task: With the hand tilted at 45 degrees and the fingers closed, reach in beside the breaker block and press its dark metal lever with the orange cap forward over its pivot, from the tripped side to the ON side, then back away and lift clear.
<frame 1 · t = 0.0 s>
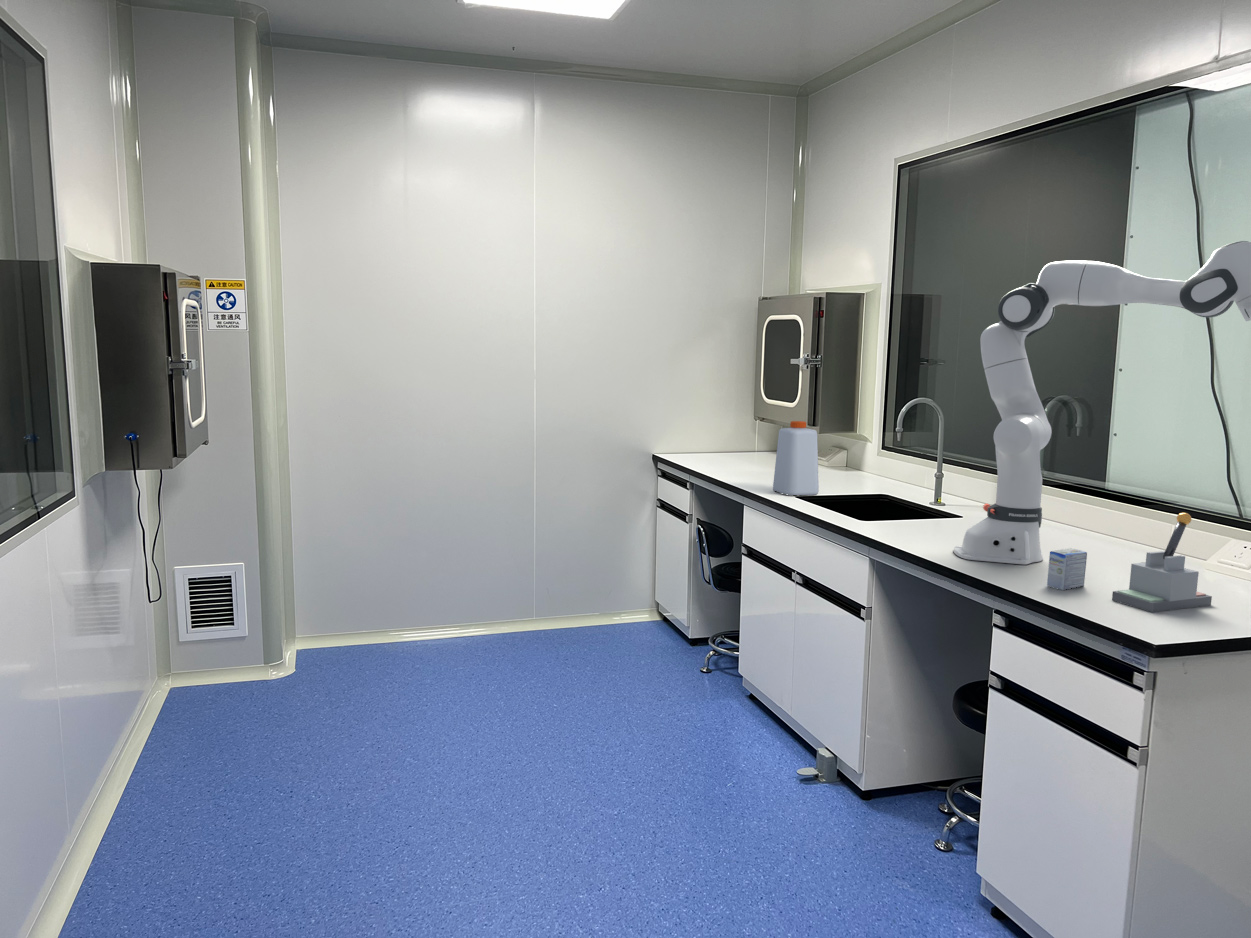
medicine box: (1065, 587, 210), on the counter
breaker block: (1161, 602, 197), on the counter
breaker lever: (1180, 527, 196), point 17 cm above the counter, hinge at -25.0°
plastic bottle: (795, 493, 343), on the counter
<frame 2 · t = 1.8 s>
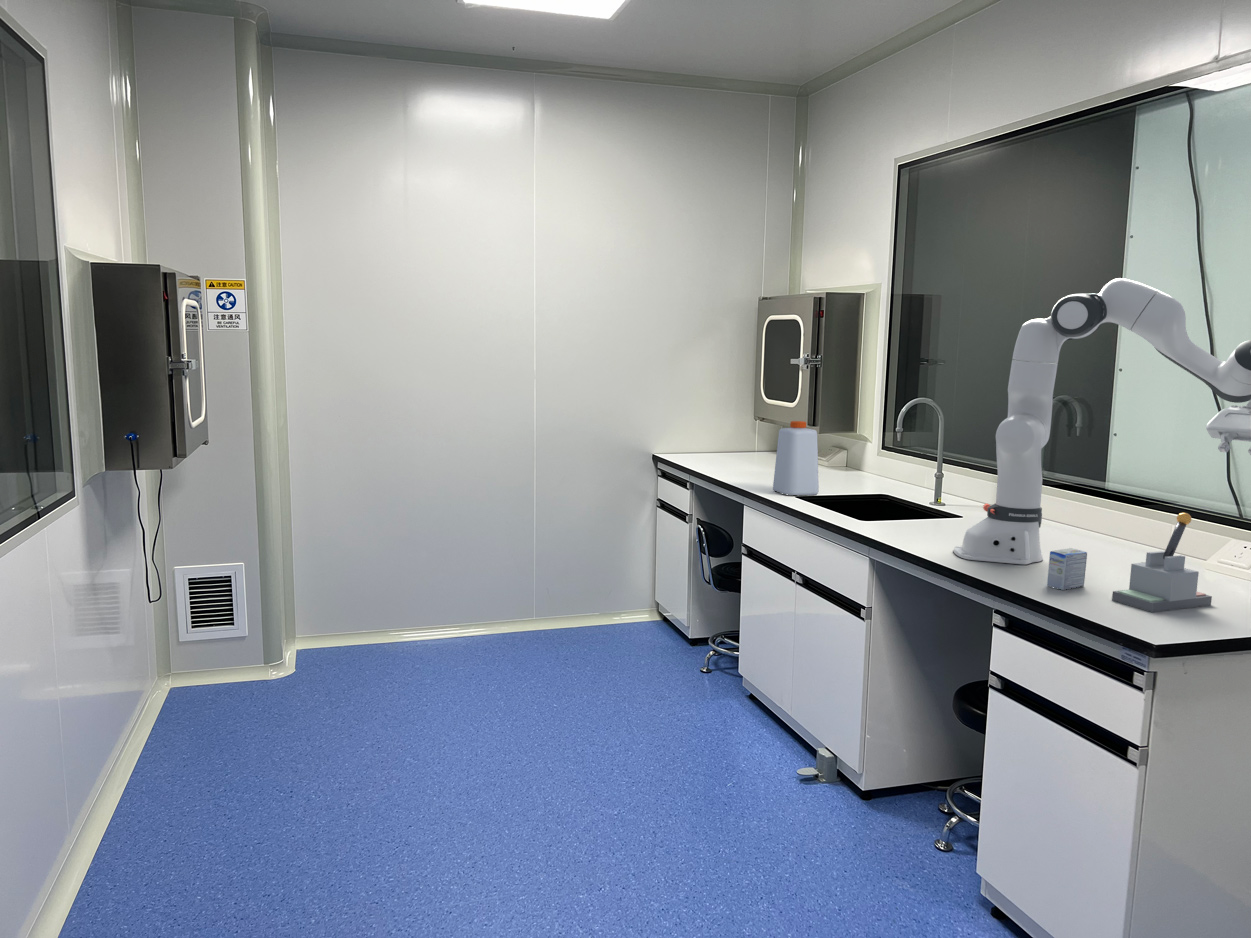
hand: (1236, 452, 199), 33 cm above the counter, tool tilted 45°, fingers open, 5 cm apart
nothing on the counter moved.
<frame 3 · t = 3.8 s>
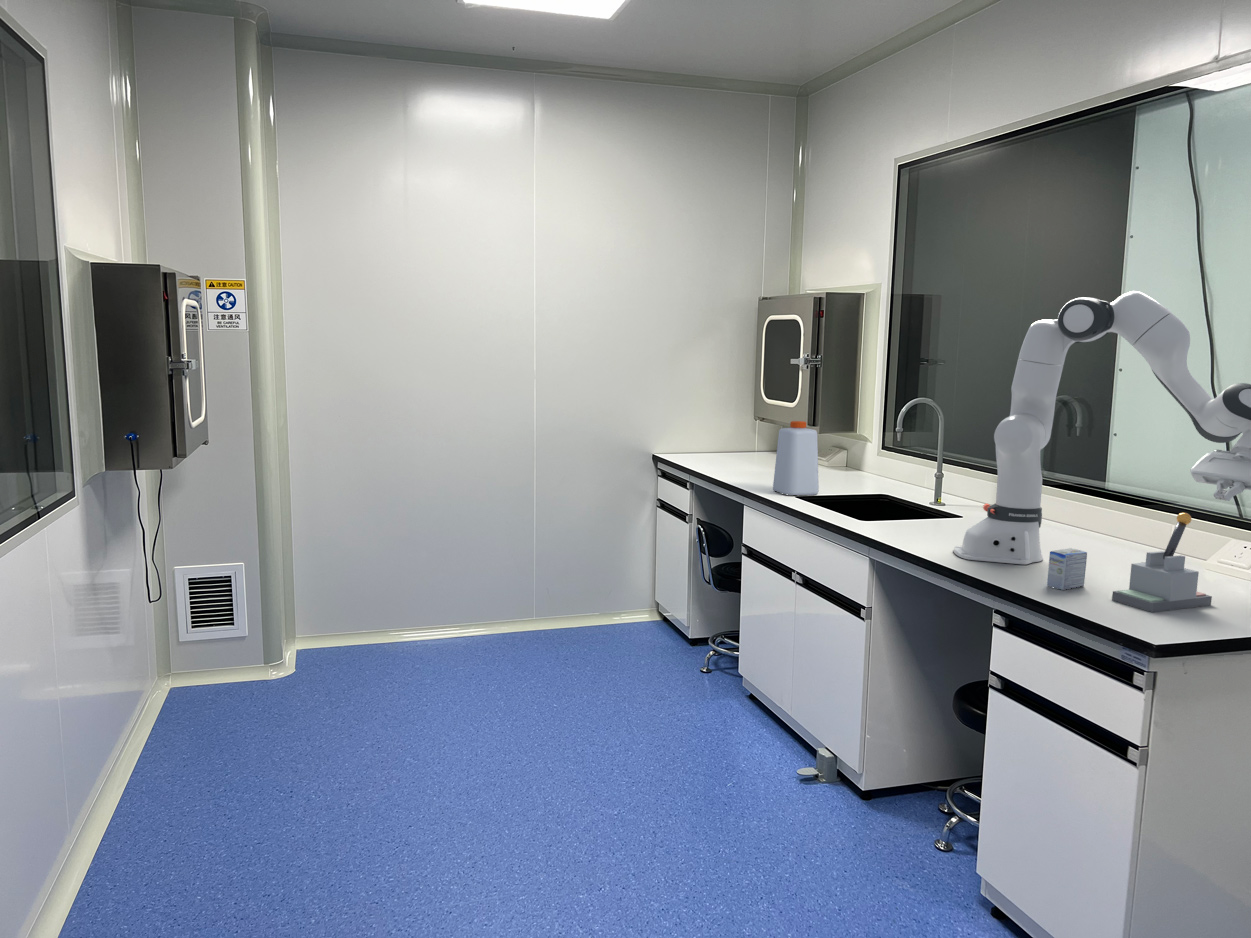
hand: (1220, 498, 200), 23 cm above the counter, tool tilted 45°, fingers closed
nothing on the counter moved.
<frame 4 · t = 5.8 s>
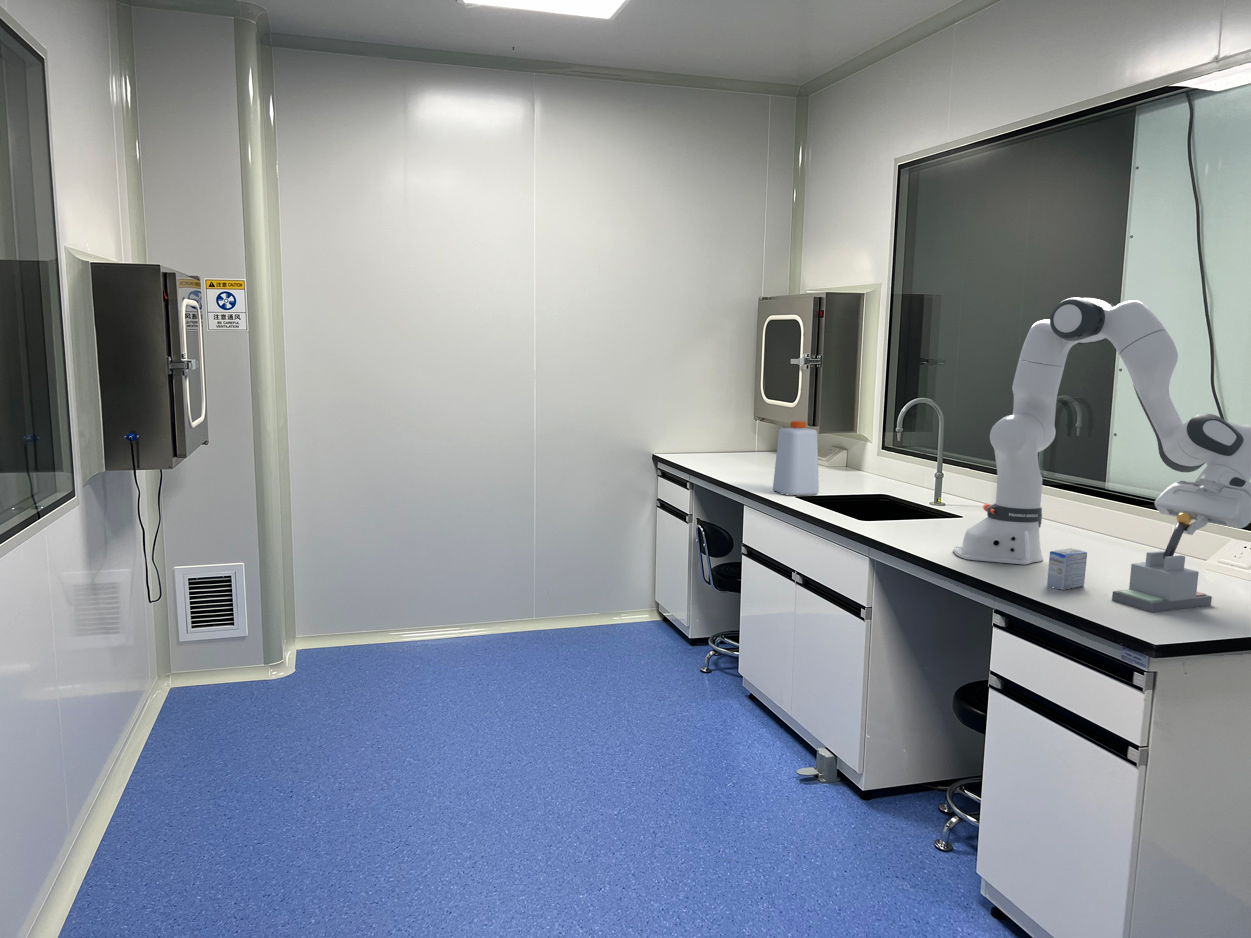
hand: (1183, 532, 197), 16 cm above the counter, tool tilted 45°, fingers closed, pressing on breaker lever
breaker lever: (1180, 527, 196), point 17 cm above the counter, hinge at -24.8°, touching gripper
everything else where it was.
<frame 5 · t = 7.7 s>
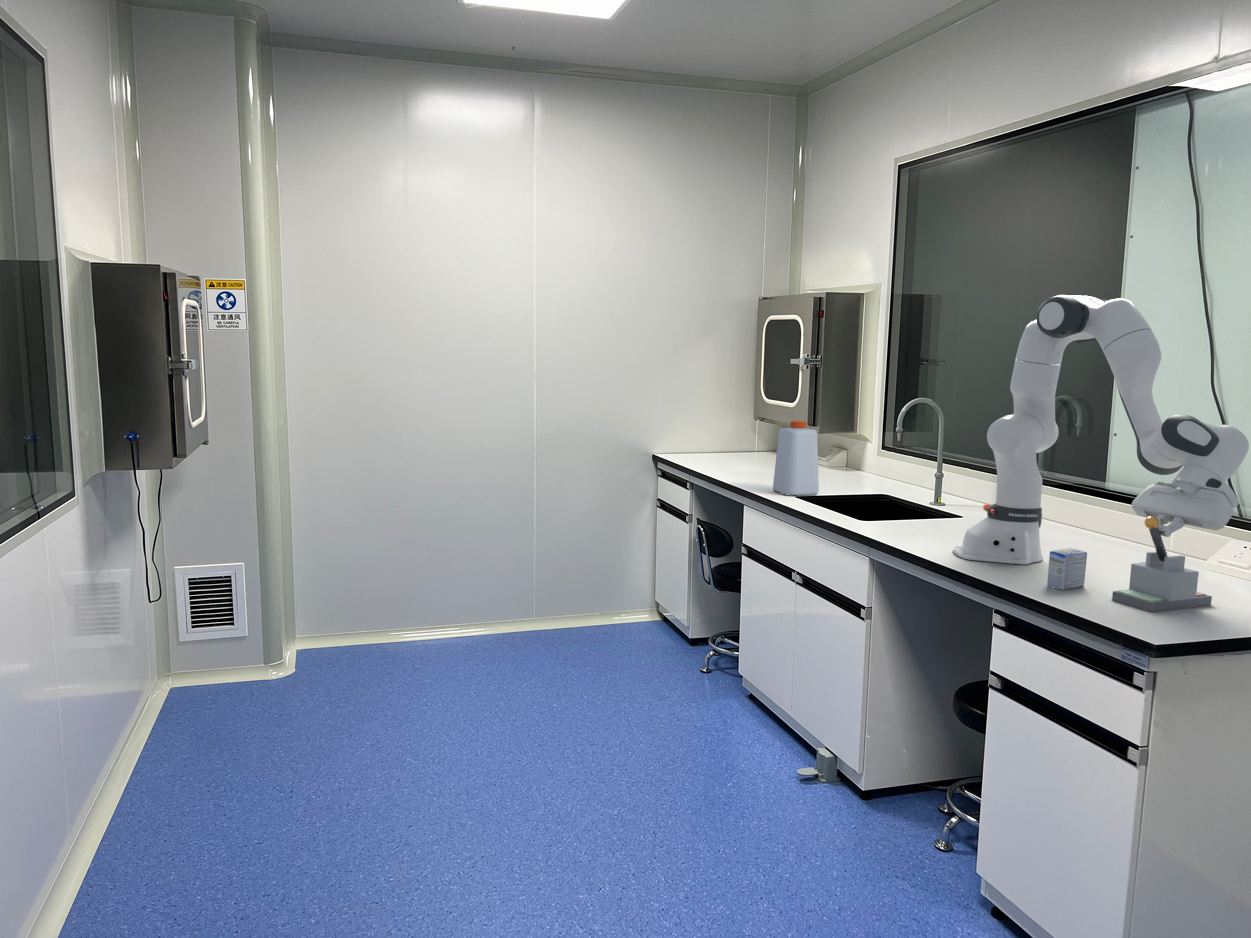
hand: (1160, 534, 194), 16 cm above the counter, tool tilted 45°, fingers closed, pressing on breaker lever
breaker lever: (1154, 530, 193), point 17 cm above the counter, hinge at 29.2°, touching gripper
everything else where it was.
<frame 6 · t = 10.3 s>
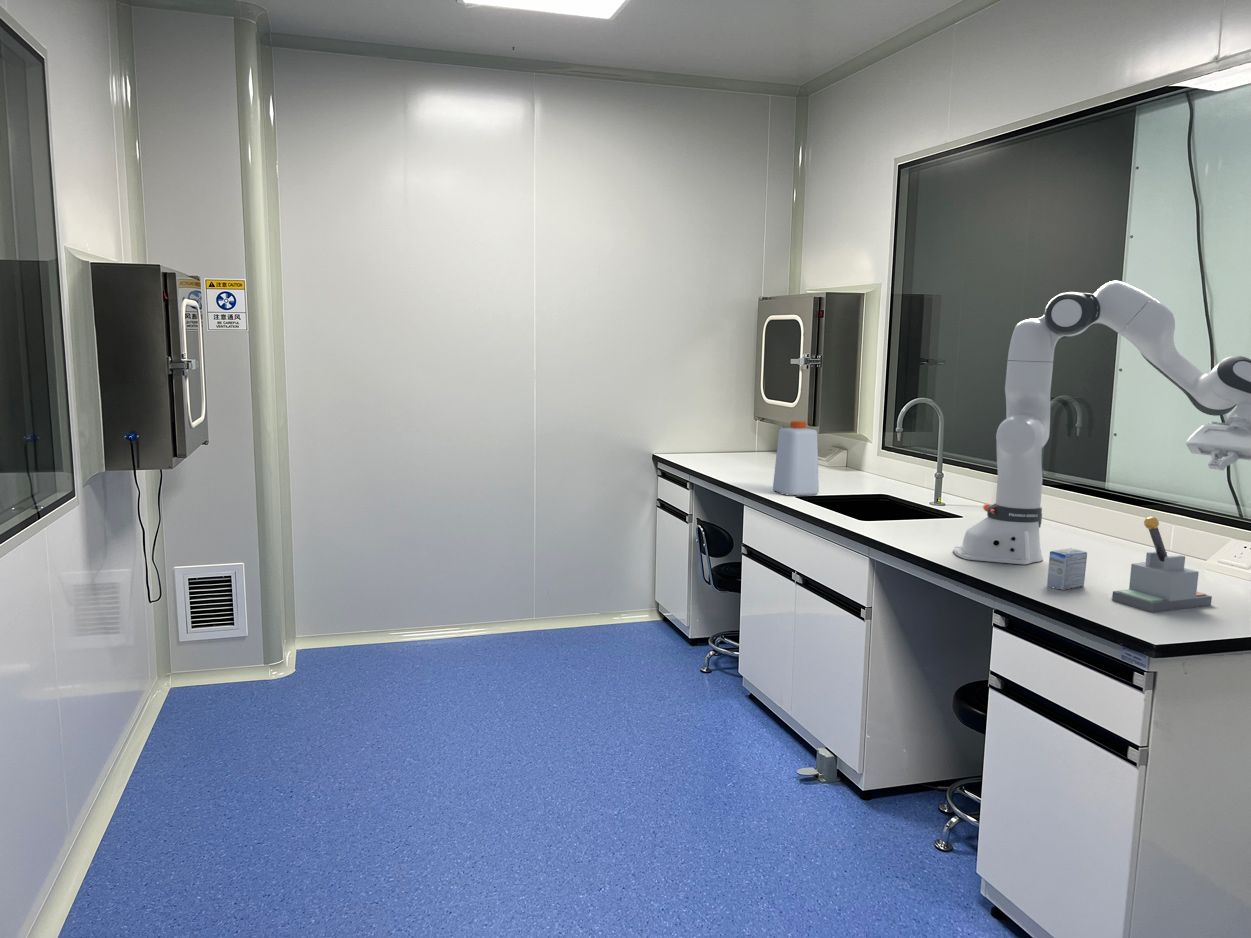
hand: (1215, 467, 204), 29 cm above the counter, tool tilted 45°, fingers closed
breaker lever: (1154, 531, 193), point 17 cm above the counter, hinge at 29.9°
everything else where it was.
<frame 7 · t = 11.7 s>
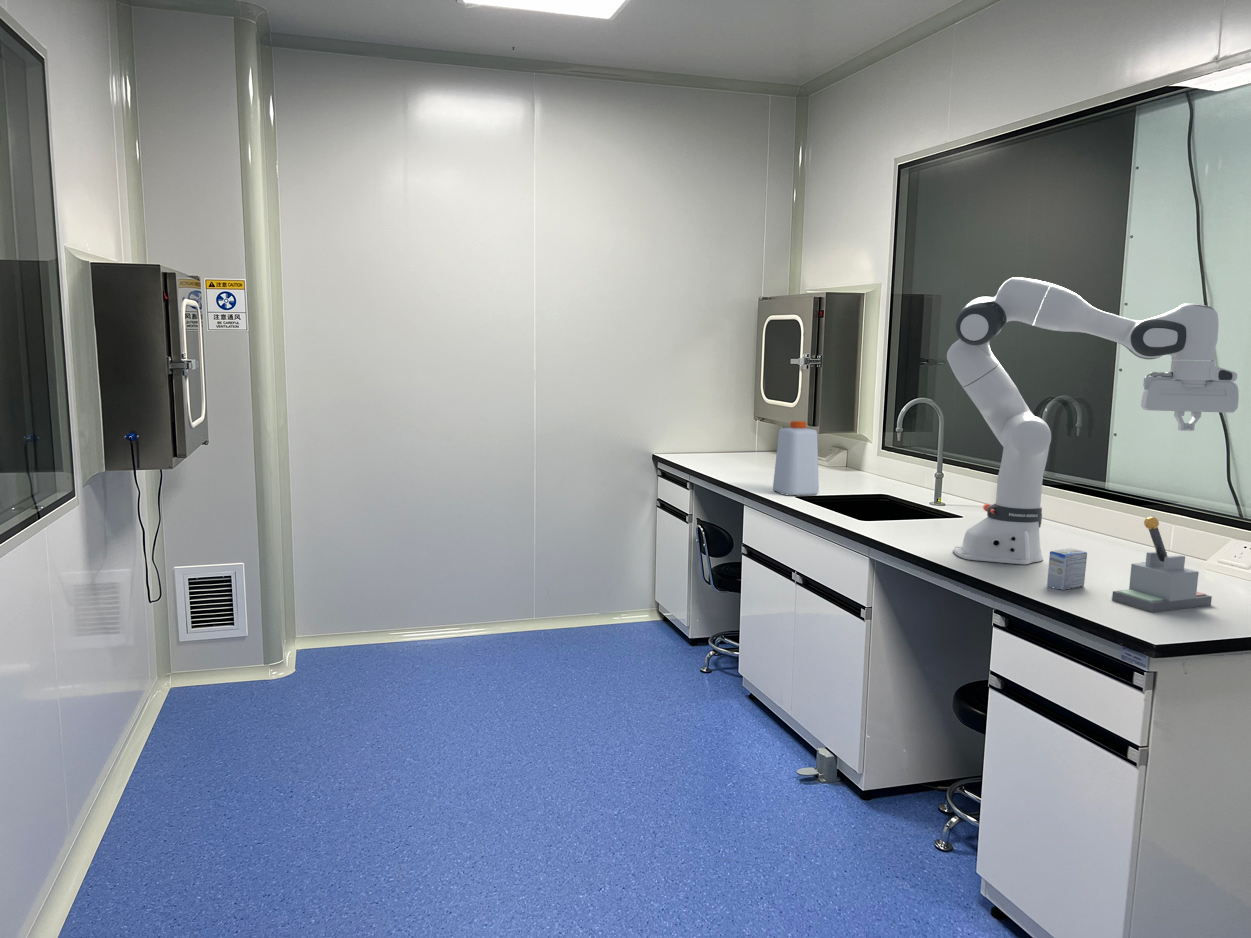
hand: (1185, 430, 212), 37 cm above the counter, tool pointing down, fingers closed
nothing on the counter moved.
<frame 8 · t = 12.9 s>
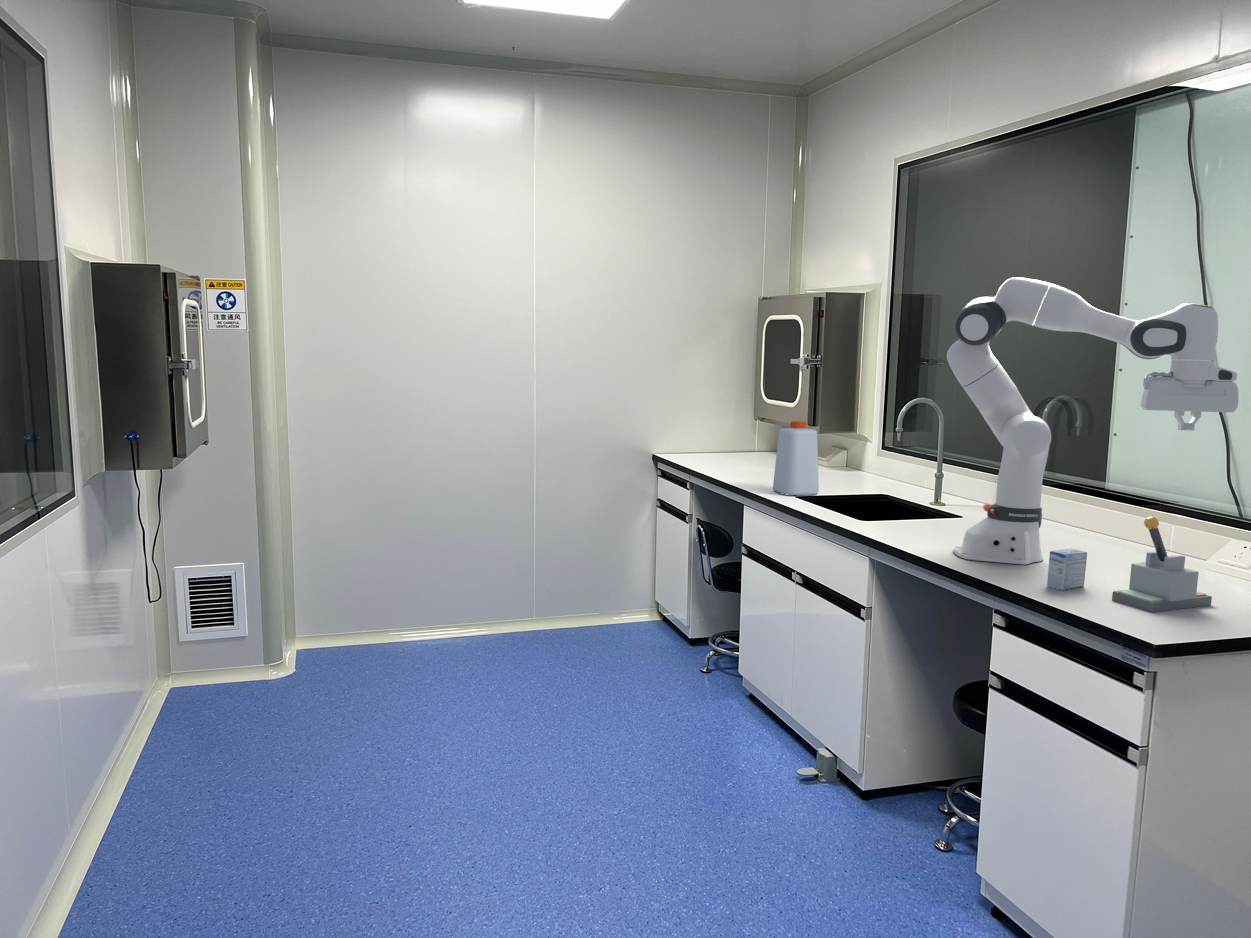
hand: (1185, 430, 212), 37 cm above the counter, tool pointing down, fingers closed
nothing on the counter moved.
at the end: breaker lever at +30° (first picture: -25°); medicine box moved 0.3 cm from its start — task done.
